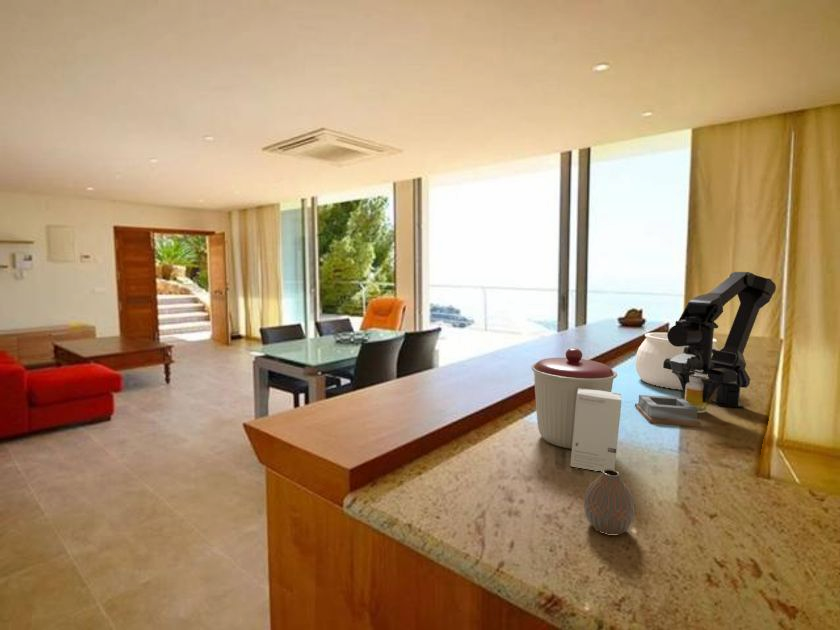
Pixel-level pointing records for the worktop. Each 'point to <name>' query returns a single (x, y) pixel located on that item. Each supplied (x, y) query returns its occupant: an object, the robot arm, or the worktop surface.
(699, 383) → the supplement bottle
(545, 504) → the worktop surface
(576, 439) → the skincare box
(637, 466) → the worktop surface
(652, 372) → the pot
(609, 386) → the canister
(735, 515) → the worktop surface
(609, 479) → the vase
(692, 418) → the socket board
